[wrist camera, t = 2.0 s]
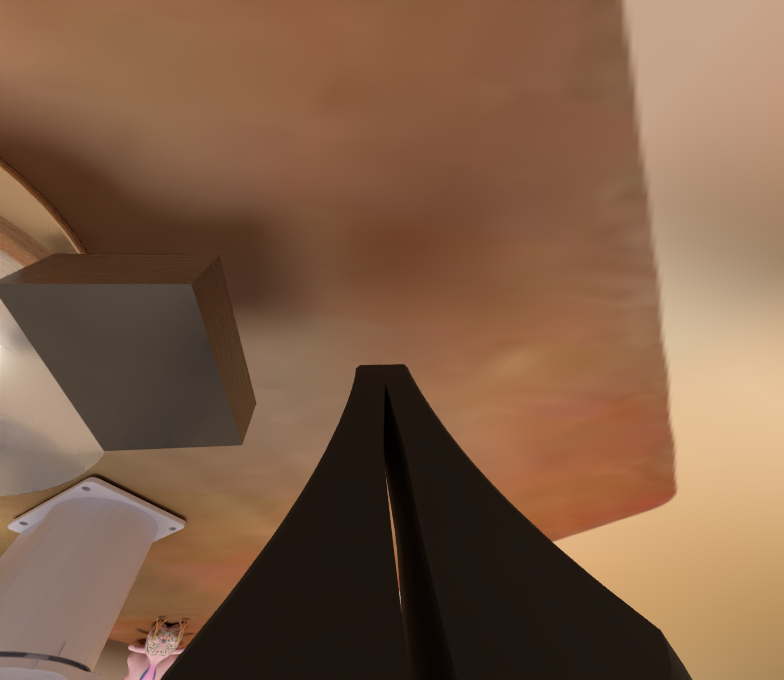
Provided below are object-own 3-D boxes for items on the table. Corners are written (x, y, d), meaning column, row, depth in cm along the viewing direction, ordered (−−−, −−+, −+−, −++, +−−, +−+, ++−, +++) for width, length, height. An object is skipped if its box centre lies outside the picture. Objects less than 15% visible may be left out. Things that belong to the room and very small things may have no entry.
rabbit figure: (149, 599, 38) (116, 668, 43) (121, 668, 33) (86, 738, 37) (207, 605, 40) (169, 670, 45) (189, 670, 35) (149, 736, 40)
